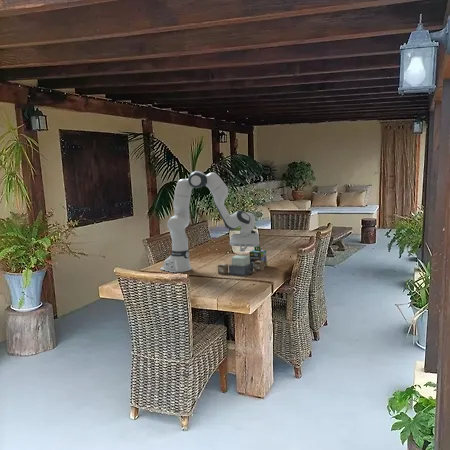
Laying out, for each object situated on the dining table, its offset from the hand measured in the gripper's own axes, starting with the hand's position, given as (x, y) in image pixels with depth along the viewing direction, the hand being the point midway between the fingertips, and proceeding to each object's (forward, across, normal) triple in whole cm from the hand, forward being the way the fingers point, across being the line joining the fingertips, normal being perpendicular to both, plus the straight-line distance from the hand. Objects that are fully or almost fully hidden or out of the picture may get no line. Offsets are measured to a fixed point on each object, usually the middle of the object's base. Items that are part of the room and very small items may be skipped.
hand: (242, 250), depth 294 cm
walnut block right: (+6, +10, +14) cm, 18 cm away
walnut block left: (+15, -12, +5) cm, 20 cm away
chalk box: (-1, +7, +21) cm, 22 cm away
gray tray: (+13, 0, +7) cm, 15 cm away
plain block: (+10, 0, +5) cm, 12 cm away
